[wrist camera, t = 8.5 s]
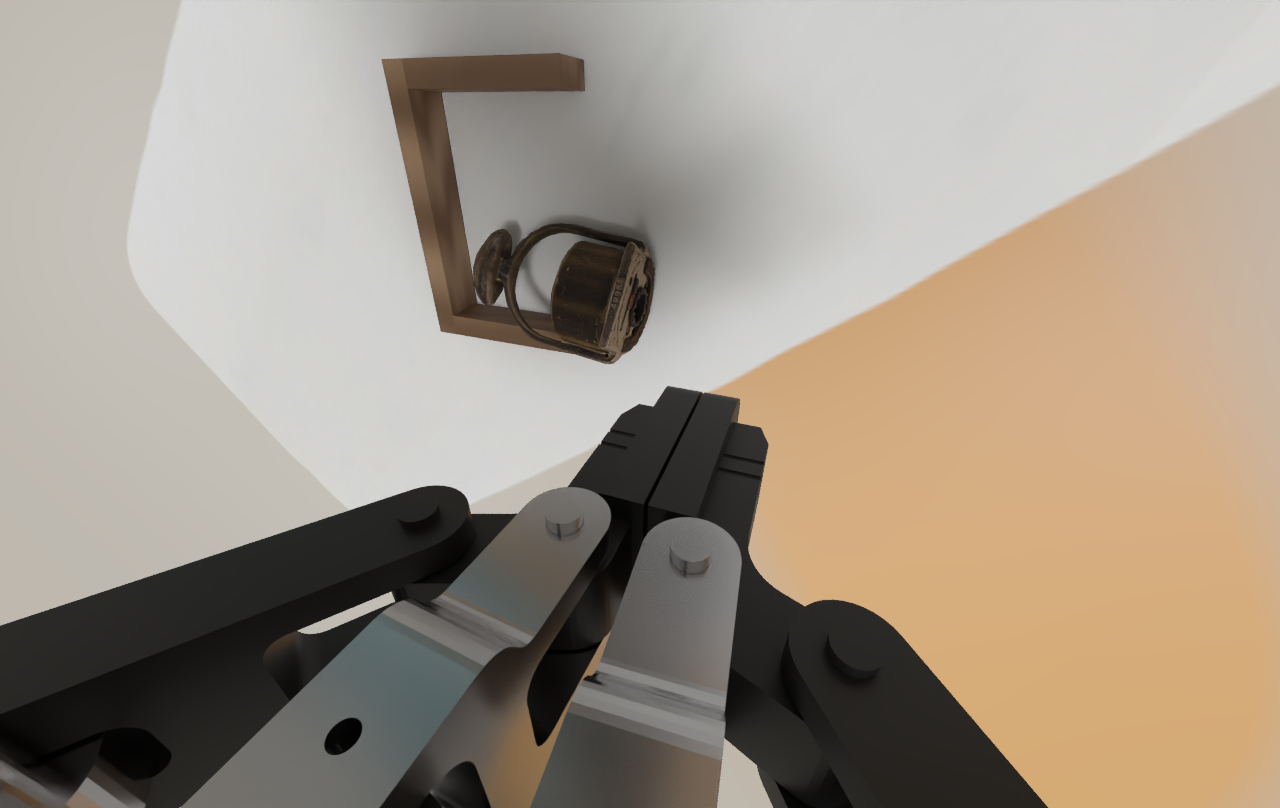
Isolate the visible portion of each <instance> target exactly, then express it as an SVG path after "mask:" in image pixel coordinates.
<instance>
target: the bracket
mask: <svg viewBox="0 0 1280 808" xmlns="http://www.w3.org/2000/svg"><path fill="white" fill-rule="evenodd" d="M382 63H383V68H384V73H385V77H386V82H387V86H388V91H389V95H390V100H391V105H392V109H393V114H394V118H395V123H396V128H397V132H398V137H399V141H400V146H401V151H402V155H403V160H404V164H405V169H406V173H407V178H408V183H409V187H410V192H411V196H412V201H413V206H414V210H415V215H416V219H417V224H418V229H419V233H420V238H421V242H422V247H423V251H424V256H425V261H426V265H427V270H428V274H429V279H430V284H431V288H432V293H433V297H434V302H435V306H436V311H437V316H438V320H439V325H440V329H441V331H442V332H447V333H453V334H459V335H465V336H471V337H477V338H483V339H489V340H494V341H500V342H506V343H512V344H518V345H524V346H530V347H535V348H541V349H547V350H553V351H559V352H565V353H570V352H567V351H564V350H561V349H558V348H554V347H551V346H548V345H544V344H541V343H539V342H537V341H535V340H533V339H531V338H530V337H529V336H528V335H526V334H525V333H524V332H523V330H522V329H521V328H520V326H519V325H518V324H517V323H516V321H515V320H514V318H513V316H512V314H511V313H510V311H509V309H508V308H502V307H495V306H488V305H481V304H477V300H476V294H475V288H474V282H473V277H472V271H471V265H470V259H469V253H468V247H467V241H466V236H465V230H464V224H463V218H462V212H461V206H460V200H459V194H458V189H457V183H456V177H455V171H454V165H453V159H452V153H451V148H450V142H449V136H448V130H447V124H446V118H445V112H444V106H443V101H442V95H441V92H505V91H585V86H584V61H583V60H582V59H578V58H574V57H571V56H567V55H563V54H560V53H552V54H523V55H493V56H463V57H434V58H404V59H382ZM520 312H521V314H522V316H523V318H524V319H525V321H526V322H527V324H528V325H529V326H530V327H531V328H532V329H533V330H534V331H536V332H537V333H539V334H540V335H543V336H545V337H548V338H551V339H554V340H557V341H562V339H561V337H560V336H558V335H557V333H556V330H555V328H554V326H553V323H552V318H551V315H549V314H543V313H536V312H529V311H522V310H520ZM571 354H573V353H571Z"/></svg>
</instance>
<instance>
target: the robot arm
mask: <svg viewBox="0 0 1280 808" xmlns="http://www.w3.org/2000/svg"><path fill="white" fill-rule="evenodd" d="M739 406H740V399H738V398H733V397H727V396H722V395H716V394H710V393H702V392H699V391H693V390H687V389H682V388H676V387H671V386H667V387H666V389H665V390H664V392H663V393H662V395H661V396H660V398H659V399H658V401H657V402H656V404H655V406H654V407H652V406H647V405H641V404H639V405H637V406H635V407H634V408H632V409H630V410H628V411H627V412H625V413H623V414H621V416H620V417H619V418H618V420H617V421H616V422H615V424H614V425H613V426H612V428H611V429H610V432H608V433H607V434H606V436H605V437H604V439H603V440H602V442H601V444H599V445H598V447H597V448H596V449H595V451H594V452H593V454H592V455H591V456H590V458H589V459H588V460H587V462H586V463H585V464H584V466H583V467H582V468H581V470H580V471H579V472H578V474H577V475H576V476H575V478H574V479H573V480H572V482H571V483H570V485H569V486H568V487H563V488H557V489H553V490H549V491H547V492H544V493H542V494H540V495H538V496H537V497H535V498H533V499H532V500H531V501H530V502H529V503H528V504H527V505H526V506H525V507H524V508H523V509H522V510H521V511H520V512H519V513H518V514H471V512H470V508H469V504H468V501H467V498H466V497H465V495H464V494H462V493H461V492H460V491H458V490H457V489H454V488H451V487H447V486H426V487H420V488H417V489H413V490H410V491H407V492H404V493H401V494H398V495H395V496H392V497H389V498H386V499H383V500H380V501H377V502H374V503H371V504H368V505H365V506H362V507H358V508H355V509H352V510H349V511H346V512H344V513H340V514H337V515H335V516H331V517H328V518H325V519H322V520H319V521H317V522H313V523H310V524H307V525H304V526H301V527H298V528H295V529H292V530H289V531H286V532H283V533H280V534H277V535H274V536H271V537H268V538H265V539H262V540H259V541H256V542H253V543H249V544H246V545H243V546H241V547H237V548H234V549H231V550H228V551H225V552H222V553H219V554H216V555H213V556H210V557H207V558H204V559H201V560H198V561H195V562H192V563H189V564H186V565H183V566H180V567H177V568H174V569H171V570H168V571H165V572H162V573H159V574H156V575H153V576H150V577H147V578H144V579H141V580H137V581H134V582H132V583H128V584H125V585H122V586H120V587H116V588H113V589H110V590H107V591H104V592H101V593H98V594H95V595H92V596H89V597H86V598H83V599H80V600H77V601H74V602H71V603H68V604H65V605H62V606H59V607H56V608H53V609H50V610H47V611H44V612H41V613H38V614H35V615H32V616H29V617H25V618H23V619H19V620H16V621H13V622H10V623H7V624H4V625H1V626H0V808H179V807H181V806H182V807H181V808H717V801H718V800H717V799H718V792H719V782H720V773H721V765H722V755H723V746H724V738H725V739H726V740H728V741H729V742H730V743H731V744H732V745H734V746H735V747H736V748H737V749H738V750H739V751H741V752H742V753H743V754H744V755H746V756H747V757H748V758H749V759H750V760H752V761H753V762H754V763H755V764H756V765H757V768H758V772H759V775H760V778H761V781H762V783H763V786H764V788H765V790H766V792H767V794H768V797H769V799H770V801H771V803H772V805H773V808H1048V807H1047V806H1046V805H1045V804H1044V802H1043V801H1042V800H1041V799H1040V798H1039V796H1038V795H1037V794H1036V793H1035V792H1034V791H1033V789H1032V788H1031V787H1030V786H1029V785H1028V784H1027V782H1026V781H1025V780H1024V779H1023V778H1022V777H1021V776H1020V774H1019V773H1018V772H1017V771H1016V770H1015V768H1014V767H1013V766H1012V765H1011V764H1010V763H1009V761H1008V760H1007V759H1006V758H1005V757H1004V755H1003V754H1002V753H1001V752H1000V751H999V750H998V748H997V747H996V746H995V745H994V744H993V743H992V741H991V740H990V739H989V738H988V737H987V736H986V734H985V733H984V732H983V731H982V730H981V729H980V728H979V726H978V725H977V724H976V723H975V721H974V720H973V719H972V718H971V717H970V716H969V714H968V713H967V712H966V711H965V710H964V709H963V707H962V706H961V705H960V704H959V703H958V701H957V700H956V699H955V698H954V697H953V696H952V694H951V693H950V692H949V691H948V690H947V689H946V687H945V686H944V685H943V684H942V683H941V682H940V680H939V679H938V678H937V677H936V676H935V675H934V673H933V672H932V671H931V670H930V669H929V667H928V666H927V665H926V664H925V663H924V662H923V660H922V659H921V658H920V657H919V656H918V655H917V654H916V652H915V651H914V650H913V649H912V648H911V646H910V645H909V644H908V643H907V642H906V641H905V639H904V638H903V637H902V636H901V635H900V634H899V633H898V632H897V631H896V630H895V629H894V627H892V626H891V625H890V624H889V623H888V622H886V621H885V620H884V619H883V618H881V617H880V616H878V615H877V614H875V613H874V612H871V611H870V610H868V609H866V608H864V607H861V606H859V605H856V604H853V603H849V602H845V601H839V600H822V601H817V602H814V603H811V604H809V605H807V606H803V605H801V604H800V603H798V602H796V601H794V600H793V599H791V598H790V597H788V596H786V595H784V594H783V593H781V592H780V591H778V590H777V589H775V588H774V587H773V586H772V585H770V584H769V583H768V582H767V581H766V580H765V579H764V578H763V577H762V576H761V575H760V574H759V572H758V571H757V569H756V568H755V566H754V564H753V562H752V560H751V558H750V555H749V551H748V546H749V542H750V537H751V532H752V527H753V522H754V518H755V513H756V508H757V504H758V498H759V492H760V487H761V482H762V477H763V471H764V465H765V460H766V455H767V449H768V442H767V440H766V438H765V436H764V434H763V431H762V429H761V428H760V427H755V426H749V425H744V424H740V423H737V422H738V414H739ZM389 592H392V594H393V597H394V599H395V602H394V603H391V604H389V605H387V606H384V607H382V608H379V609H377V610H375V611H372V612H370V613H368V614H366V615H363V616H361V617H358V618H356V619H354V620H351V621H349V622H347V623H344V624H342V625H340V626H337V627H335V628H332V629H330V630H328V631H325V632H322V633H317V634H304V633H301V632H298V631H297V630H299V629H302V628H304V627H307V626H309V625H311V624H314V623H316V622H319V621H321V620H323V619H326V618H328V617H331V616H333V615H335V614H338V613H340V612H343V611H345V610H347V609H350V608H352V607H355V606H357V605H360V604H362V603H364V602H367V601H369V600H372V599H374V598H377V597H379V596H381V595H384V594H386V593H389Z"/></svg>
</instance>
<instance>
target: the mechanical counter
mask: <svg viewBox="0 0 1280 808" xmlns="http://www.w3.org/2000/svg"><path fill="white" fill-rule="evenodd" d="M557 233H572V234H577V235H582V236H585V237H589V238H593V239H596V240H600V241H603V242H607V243H611V244H615V245H619V246H623V247H626V248H625V251H623V250H619V249H615V248H611V247H606V246H602V245H598V244H594V243H590V242H586V241H581V242H578V243H575V244H574V245H573V246H572V248H571V249H570V250H569V251H568V252H567V254H566V255H565V257H564V258H563V260H562V262H561V264H560V267H559V270H558V273H557V276H556V279H555V282H554V285H553V288H552V293H551V318H552V323H553V326H554V328H555V330H556V333H557V335H558V336H560V337H561V339H562V341H557V340H554V339H551V338H548V337H545V336H543V335H540V334H539V333H537V332H536V331H534V330H533V329H532V328H531V327H530V326H529V325H528V324H527V322H526V321H525V319H524V318H523V316H522V314H521V312H520V310H519V307H518V304H517V301H516V294H515V286H516V279H517V275H518V271H519V267H520V265H521V263H522V260H523V258H524V257H525V255H526V254H527V253H528V252H529V250H530V249H531V248H532V247H533V246H534V245H535V244H537V243H538V242H539V241H540V240H541V239H543V238H545V237H547V236H550V235H553V234H557ZM511 252H512V238H511V235H510V234H509V233H508V231H507V230H504V229H501V230H497V231H495V232H493V233H492V234H491V235H490V236H489V237H488V239H487V240H486V241H485V242H484V244H483V245H482V246H481V248H480V250H479V251H478V253H477V255H476V259H475V263H474V266H473V278H474V286H475V289H476V292H477V295H478V297H479V299H480V300H481V301H482V303H483V304H485V305H489V306H490V305H492V304H494V303H495V302H496V300H497V298H498V297H499V295H500V294H501V292H502V290H503V288H504V291H505V297H506V302H507V305H508V309H509V311H510V313H511V314H512V316H513V318H514V320H515V321H516V323H517V324H518V325H519V326H520V328H521V329H522V330H523V332H524V333H525V334H526V335H528V336H529V337H530V338H531V339H533V340H535V341H537V342H539V343H541V344H544V345H548V346H551V347H554V348H558V349H561V350H564V351H567V352H570V353H573V354H576V355H579V356H582V357H585V358H589V359H592V360H595V361H598V362H601V363H605V364H612V363H614V362H616V361H617V360H618V359H619V358H620V357H621V356H622V355H623V354H625V353H626V352H628V351H630V350H631V349H632V348H633V346H635V345H636V344H637V342H638V341H639V338H640V336H641V334H642V332H643V329H644V328H645V324H646V322H647V319H648V315H649V312H650V305H651V301H652V295H653V287H654V275H655V274H654V270H655V269H654V267H653V263H652V260H651V258H649V249H648V247H647V245H646V244H645V243H643V242H641V241H637V240H634V239H630V238H626V237H623V236H619V235H615V234H612V233H607V232H603V231H599V230H594V229H591V228H587V227H584V226H580V225H576V224H564V223H559V224H549V225H546V226H543V227H541V228H539V229H537V230H535V231H533V232H531V233H530V234H529V235H528V236H527V237H526V238H525V239H523V240H522V241H521V242H520V243H519V244H518V245H517V247H516V249H515V251H514V253H513V255H512V256H511ZM608 354H609V355H608Z"/></svg>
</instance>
